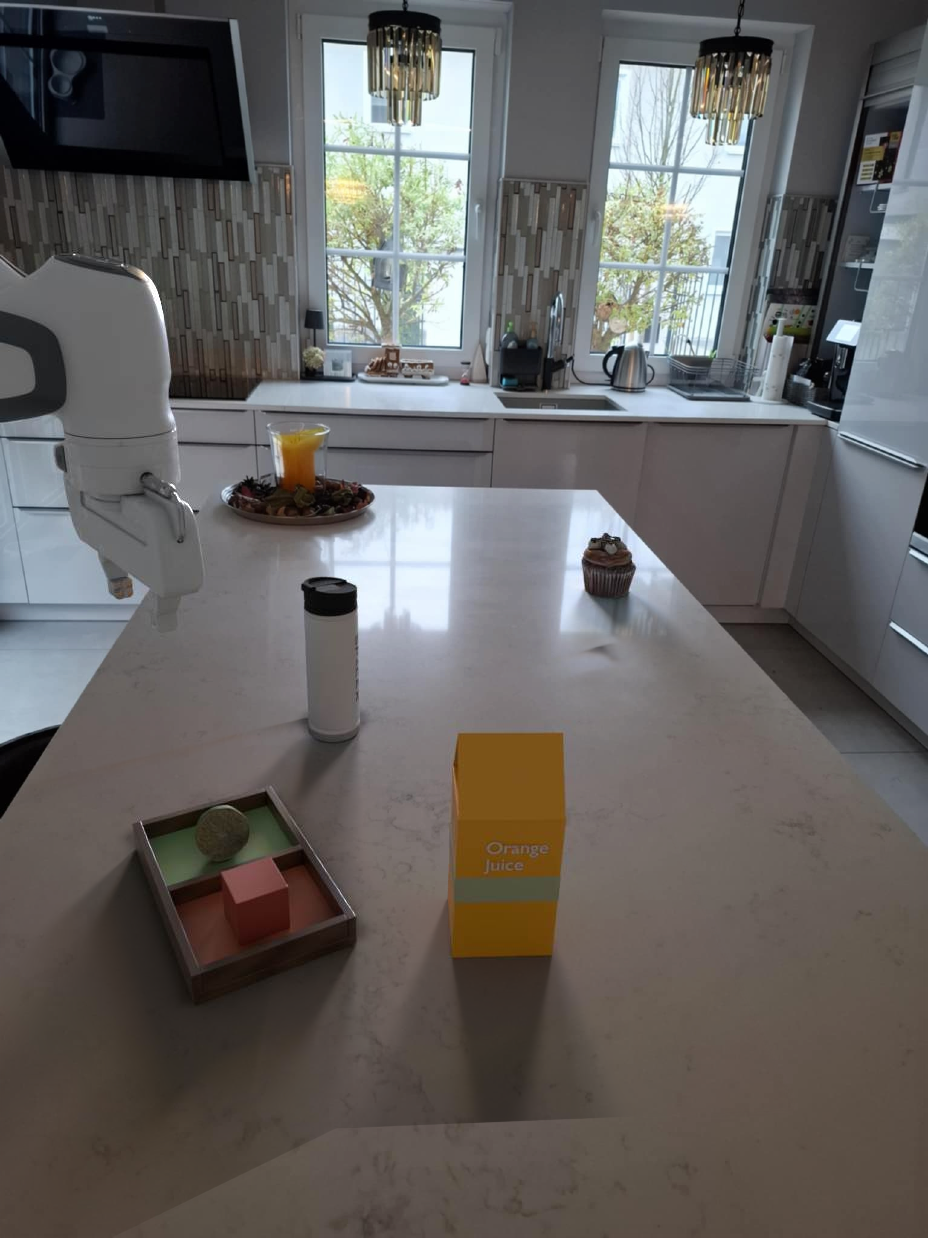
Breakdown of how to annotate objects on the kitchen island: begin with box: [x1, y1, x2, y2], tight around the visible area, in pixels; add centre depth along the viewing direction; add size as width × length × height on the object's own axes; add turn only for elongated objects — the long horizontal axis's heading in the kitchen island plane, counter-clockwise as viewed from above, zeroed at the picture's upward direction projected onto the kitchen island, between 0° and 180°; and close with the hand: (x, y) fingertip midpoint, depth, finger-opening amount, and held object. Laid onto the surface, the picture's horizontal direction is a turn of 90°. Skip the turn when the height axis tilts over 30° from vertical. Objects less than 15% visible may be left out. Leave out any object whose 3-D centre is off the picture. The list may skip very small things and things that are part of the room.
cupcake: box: [580, 532, 637, 599], centre depth 154 cm, size 10×10×10 cm
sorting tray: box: [132, 785, 358, 1006], centre depth 80 cm, size 14×22×3 cm, turn 31°
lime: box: [195, 805, 250, 861], centre depth 83 cm, size 4×5×5 cm
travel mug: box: [300, 576, 361, 743], centre depth 104 cm, size 6×7×20 cm
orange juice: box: [447, 732, 567, 958], centre depth 74 cm, size 8×9×20 cm
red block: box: [221, 857, 290, 946], centre depth 75 cm, size 4×4×4 cm
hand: (142, 612), depth 79 cm, fingers open, 8 cm apart
